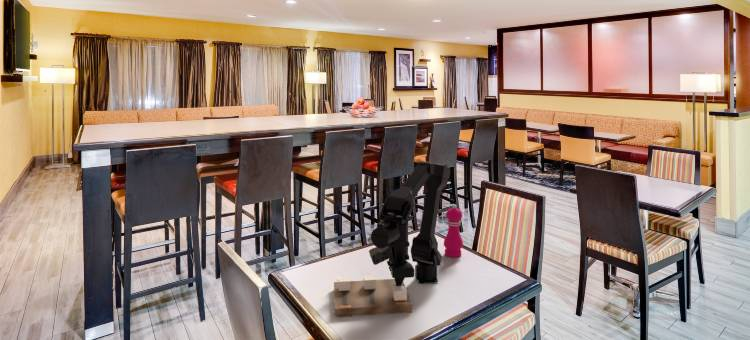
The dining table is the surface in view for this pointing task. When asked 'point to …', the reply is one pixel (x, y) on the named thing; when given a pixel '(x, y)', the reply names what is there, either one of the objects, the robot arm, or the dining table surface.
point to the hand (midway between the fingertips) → (398, 287)
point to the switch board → (369, 300)
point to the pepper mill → (453, 233)
